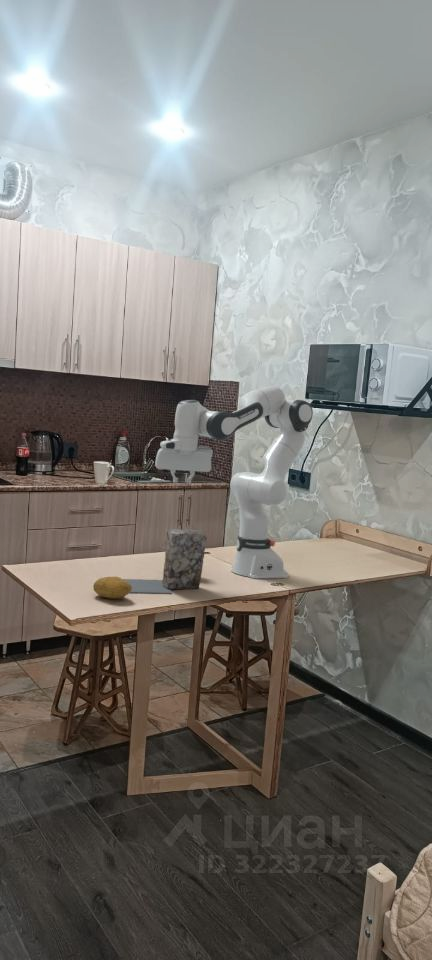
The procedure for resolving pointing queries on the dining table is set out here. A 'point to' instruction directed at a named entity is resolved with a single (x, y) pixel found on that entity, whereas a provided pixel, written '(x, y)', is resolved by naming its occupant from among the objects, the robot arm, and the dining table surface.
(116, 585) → the potato
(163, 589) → the mat
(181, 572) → the stone block
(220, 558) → the dining table surface
